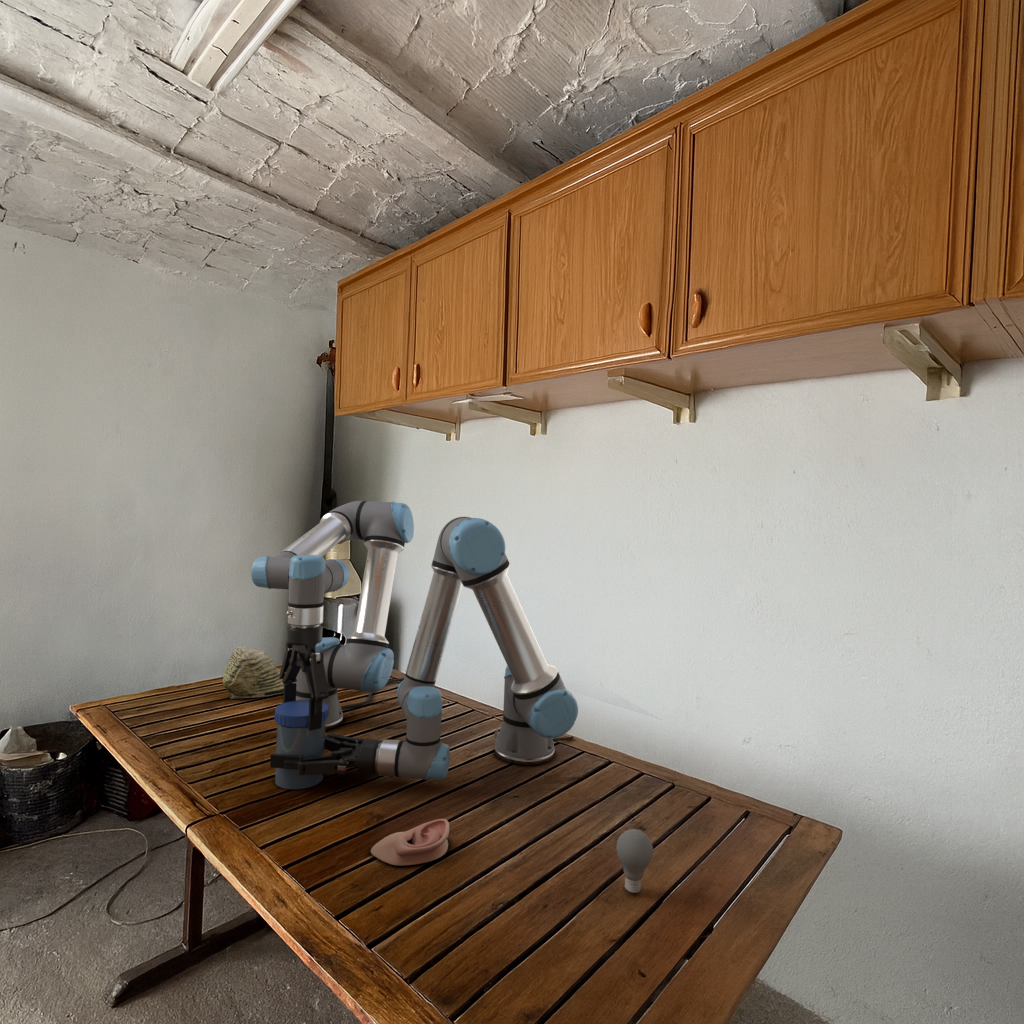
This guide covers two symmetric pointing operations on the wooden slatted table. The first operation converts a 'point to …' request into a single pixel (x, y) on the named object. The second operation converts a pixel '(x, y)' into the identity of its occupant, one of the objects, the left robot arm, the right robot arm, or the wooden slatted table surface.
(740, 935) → the wooden slatted table surface
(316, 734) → the jar
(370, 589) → the left robot arm
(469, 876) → the wooden slatted table surface
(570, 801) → the wooden slatted table surface
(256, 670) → the fossil
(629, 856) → the light bulb
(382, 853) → the anatomical model
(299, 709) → the lid
